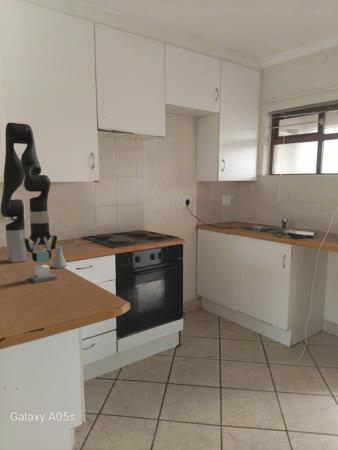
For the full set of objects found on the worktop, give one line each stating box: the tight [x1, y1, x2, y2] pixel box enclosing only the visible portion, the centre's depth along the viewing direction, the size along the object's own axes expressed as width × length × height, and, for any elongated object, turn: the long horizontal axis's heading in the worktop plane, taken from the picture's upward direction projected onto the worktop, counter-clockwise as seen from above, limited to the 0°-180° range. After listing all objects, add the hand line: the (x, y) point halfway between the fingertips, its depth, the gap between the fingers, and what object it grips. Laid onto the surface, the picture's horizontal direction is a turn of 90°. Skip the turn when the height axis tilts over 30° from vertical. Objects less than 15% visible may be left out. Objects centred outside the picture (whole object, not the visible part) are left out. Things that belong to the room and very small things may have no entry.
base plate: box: [28, 271, 57, 284], centre depth 144 cm, size 9×9×2 cm
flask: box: [52, 246, 68, 269], centre depth 164 cm, size 7×7×10 cm
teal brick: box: [35, 250, 50, 264], centre depth 143 cm, size 5×5×4 cm
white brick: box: [34, 264, 51, 278], centre depth 144 cm, size 5×5×4 cm
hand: (41, 259), depth 143 cm, fingers closed on teal brick, 5 cm apart
